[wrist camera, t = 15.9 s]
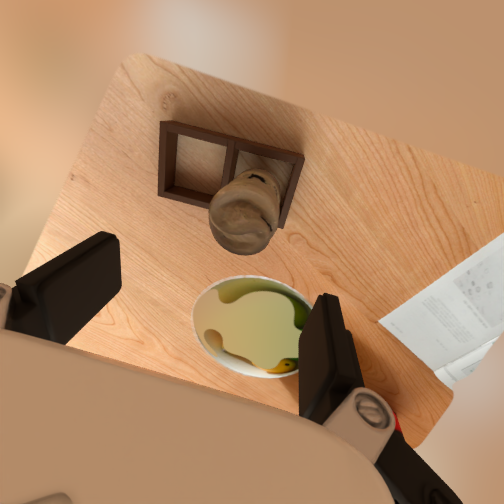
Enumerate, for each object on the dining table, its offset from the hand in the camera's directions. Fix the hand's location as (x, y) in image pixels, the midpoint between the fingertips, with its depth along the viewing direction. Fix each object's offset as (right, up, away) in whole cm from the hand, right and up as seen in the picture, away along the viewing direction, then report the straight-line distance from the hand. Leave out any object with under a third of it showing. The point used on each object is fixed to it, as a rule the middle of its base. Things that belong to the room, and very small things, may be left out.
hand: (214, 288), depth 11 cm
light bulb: (+3, +10, +19) cm, 22 cm away
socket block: (-1, +11, +19) cm, 22 cm away
